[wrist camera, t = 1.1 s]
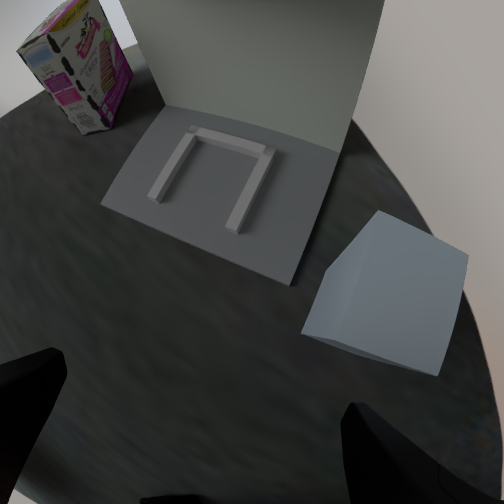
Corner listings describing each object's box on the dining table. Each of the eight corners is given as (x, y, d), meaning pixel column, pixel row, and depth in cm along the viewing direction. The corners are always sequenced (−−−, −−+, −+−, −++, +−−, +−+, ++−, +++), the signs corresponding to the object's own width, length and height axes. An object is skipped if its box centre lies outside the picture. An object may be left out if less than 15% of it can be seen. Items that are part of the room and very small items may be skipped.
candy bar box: (114, 129, 29) (46, 32, 13) (82, 137, 29) (12, 53, 13) (136, 72, 32) (94, -15, 16) (107, 80, 32) (61, 1, 16)
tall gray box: (356, 354, 21) (437, 376, 9) (300, 333, 22) (334, 339, 10) (379, 292, 22) (468, 255, 10) (326, 270, 23) (378, 210, 11)
